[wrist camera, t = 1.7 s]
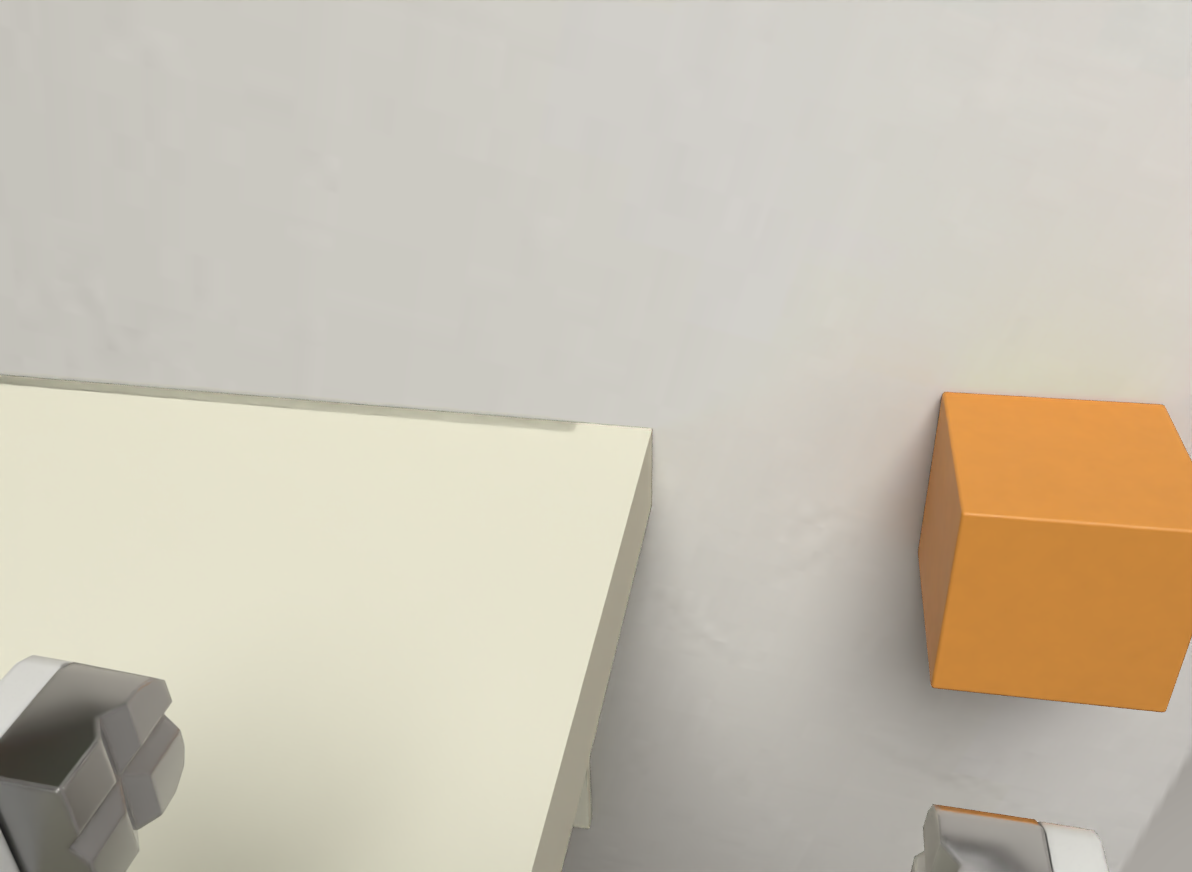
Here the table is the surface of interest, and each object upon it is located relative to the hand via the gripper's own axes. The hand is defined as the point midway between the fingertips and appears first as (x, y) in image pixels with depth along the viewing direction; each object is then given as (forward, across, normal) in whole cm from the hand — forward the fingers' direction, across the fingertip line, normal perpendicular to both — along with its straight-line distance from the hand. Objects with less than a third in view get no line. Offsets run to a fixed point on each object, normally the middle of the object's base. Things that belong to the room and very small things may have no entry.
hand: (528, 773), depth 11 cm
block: (+16, -9, +6) cm, 19 cm away
